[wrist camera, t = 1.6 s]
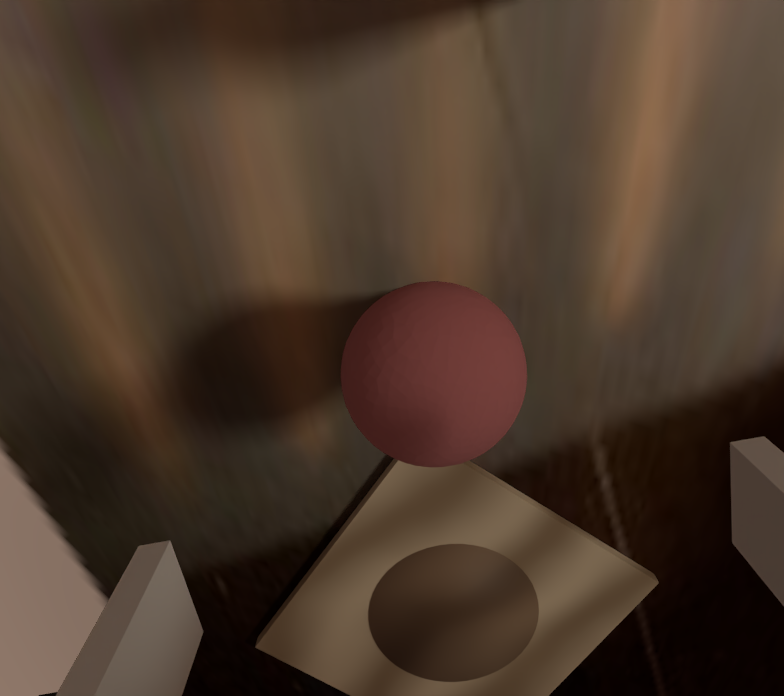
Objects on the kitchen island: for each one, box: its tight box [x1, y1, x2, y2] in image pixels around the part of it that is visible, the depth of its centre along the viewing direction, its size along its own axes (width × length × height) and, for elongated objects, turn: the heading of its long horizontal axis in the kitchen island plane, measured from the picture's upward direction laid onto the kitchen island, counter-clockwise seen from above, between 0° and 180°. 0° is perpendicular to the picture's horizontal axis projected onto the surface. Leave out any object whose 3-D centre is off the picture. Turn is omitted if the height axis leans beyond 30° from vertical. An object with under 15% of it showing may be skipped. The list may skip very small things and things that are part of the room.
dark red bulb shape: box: [341, 281, 527, 467], centre depth 28 cm, size 7×7×12 cm
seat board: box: [255, 459, 659, 696], centre depth 39 cm, size 17×17×1 cm
